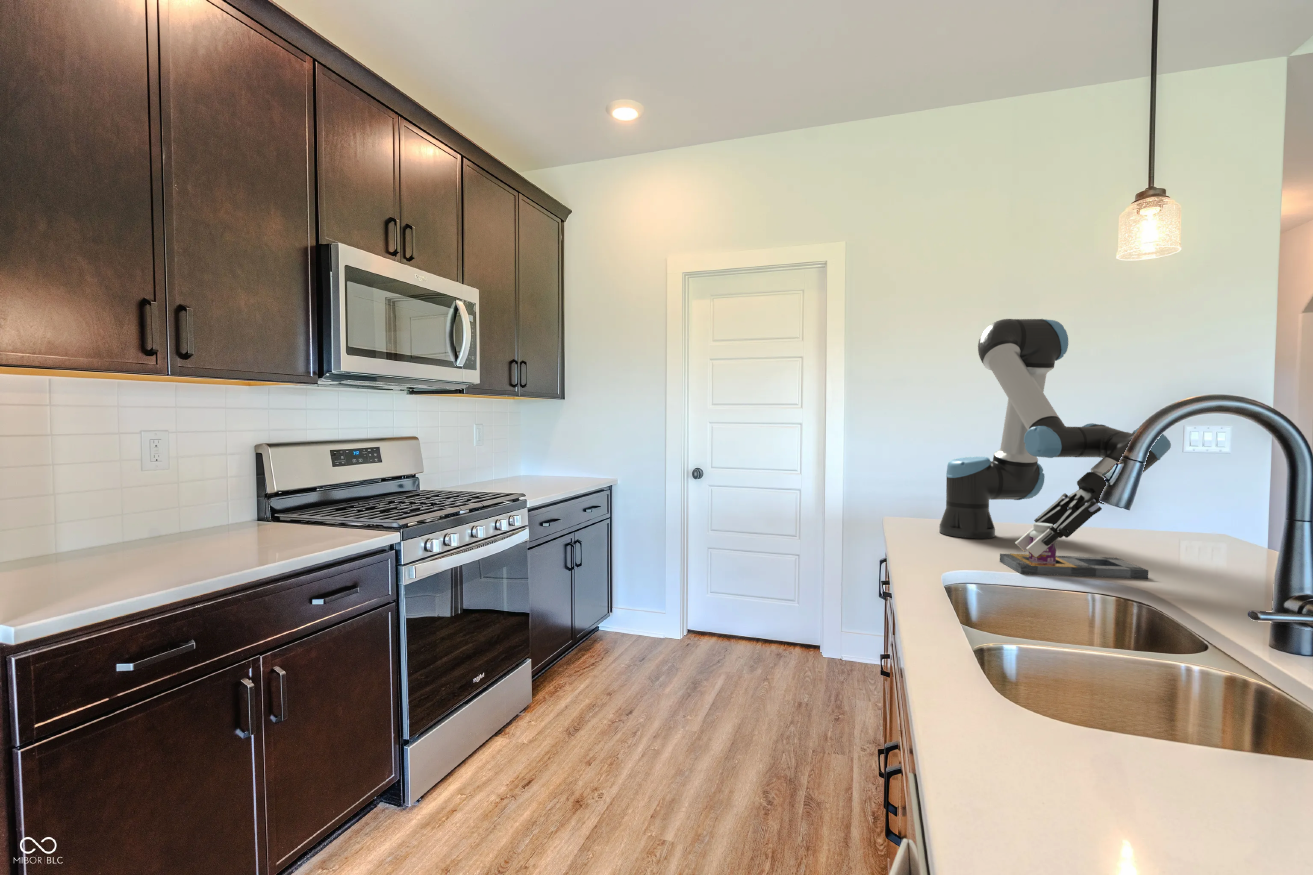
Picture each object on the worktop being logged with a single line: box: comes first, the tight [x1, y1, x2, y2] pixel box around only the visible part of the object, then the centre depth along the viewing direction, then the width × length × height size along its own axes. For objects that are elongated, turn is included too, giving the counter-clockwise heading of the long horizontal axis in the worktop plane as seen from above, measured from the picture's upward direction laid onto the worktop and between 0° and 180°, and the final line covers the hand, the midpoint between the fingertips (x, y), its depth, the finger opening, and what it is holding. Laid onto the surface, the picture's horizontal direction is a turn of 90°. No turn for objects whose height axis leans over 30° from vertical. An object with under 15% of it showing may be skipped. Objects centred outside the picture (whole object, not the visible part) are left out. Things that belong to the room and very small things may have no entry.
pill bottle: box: [1028, 522, 1057, 564], centre depth 143 cm, size 5×5×10 cm
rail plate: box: [999, 553, 1149, 580], centre depth 142 cm, size 12×26×2 cm, turn 81°
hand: (1025, 549), depth 143 cm, fingers closed on pill bottle, 5 cm apart
